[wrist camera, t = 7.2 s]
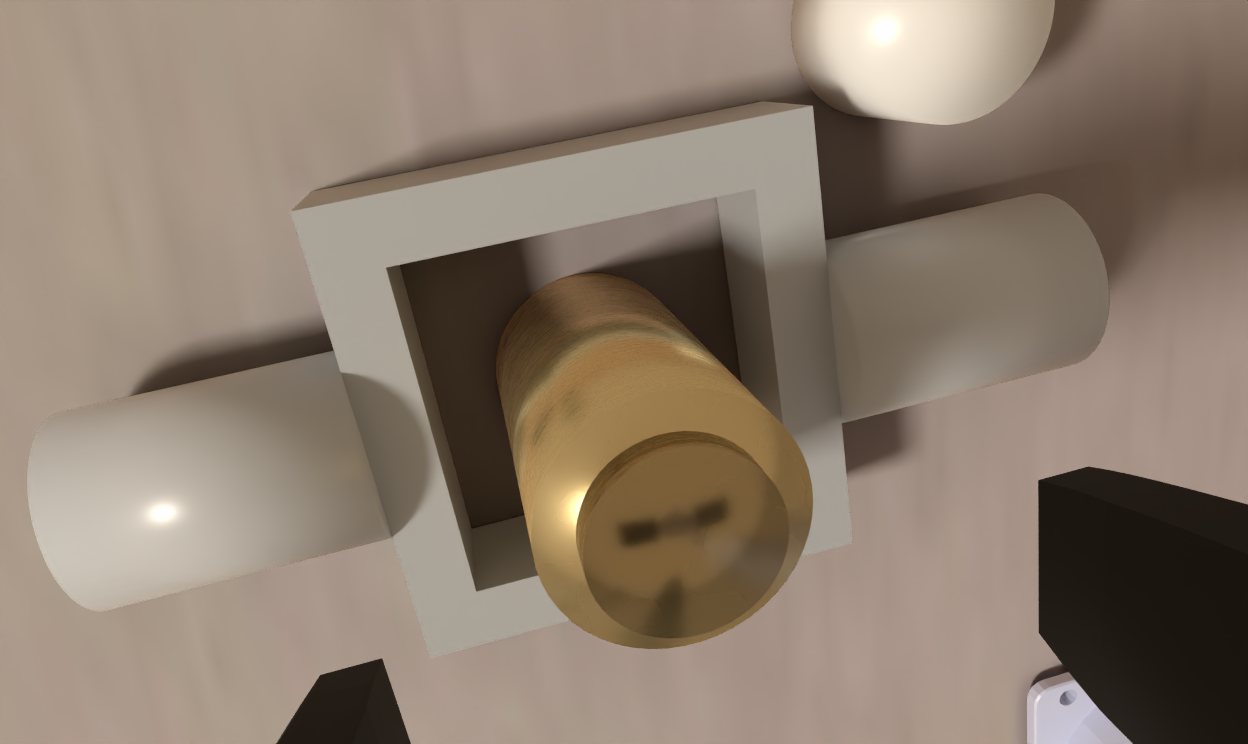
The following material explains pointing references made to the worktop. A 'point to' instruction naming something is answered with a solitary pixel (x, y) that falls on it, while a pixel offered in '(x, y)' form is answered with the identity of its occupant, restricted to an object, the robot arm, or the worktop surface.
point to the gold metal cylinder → (645, 468)
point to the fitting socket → (407, 407)
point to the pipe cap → (918, 54)
